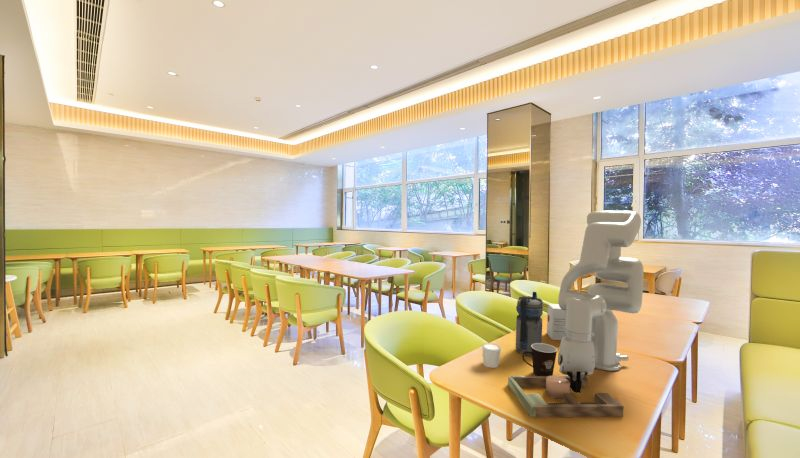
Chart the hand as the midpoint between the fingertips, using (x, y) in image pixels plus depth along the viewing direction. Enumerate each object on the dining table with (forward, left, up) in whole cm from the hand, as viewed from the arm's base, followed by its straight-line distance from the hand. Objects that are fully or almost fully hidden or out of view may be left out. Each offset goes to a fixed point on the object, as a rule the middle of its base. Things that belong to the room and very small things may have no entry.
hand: (575, 390), depth 111 cm
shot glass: (+21, -22, -1) cm, 30 cm away
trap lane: (+6, +3, -1) cm, 7 cm away
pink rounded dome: (+6, 0, -1) cm, 6 cm away
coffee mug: (+6, -14, -1) cm, 15 cm away
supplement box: (-21, -51, -1) cm, 55 cm away
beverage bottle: (+2, -33, -1) cm, 33 cm away
